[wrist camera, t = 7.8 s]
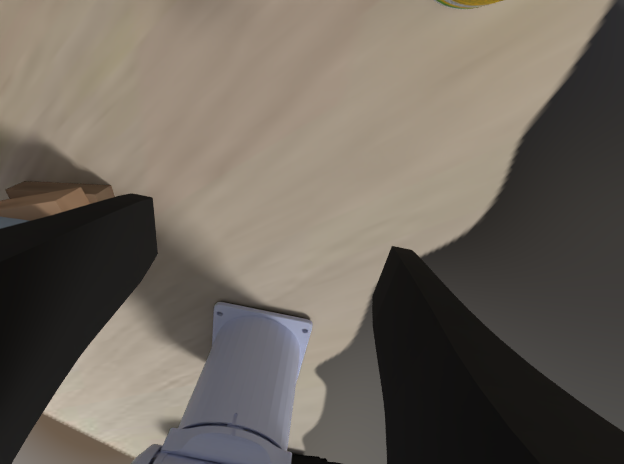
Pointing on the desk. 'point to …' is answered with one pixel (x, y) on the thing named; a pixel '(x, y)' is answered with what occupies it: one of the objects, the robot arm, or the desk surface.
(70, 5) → the desk surface
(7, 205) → the tower mid
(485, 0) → the supplement bottle
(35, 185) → the tower base
